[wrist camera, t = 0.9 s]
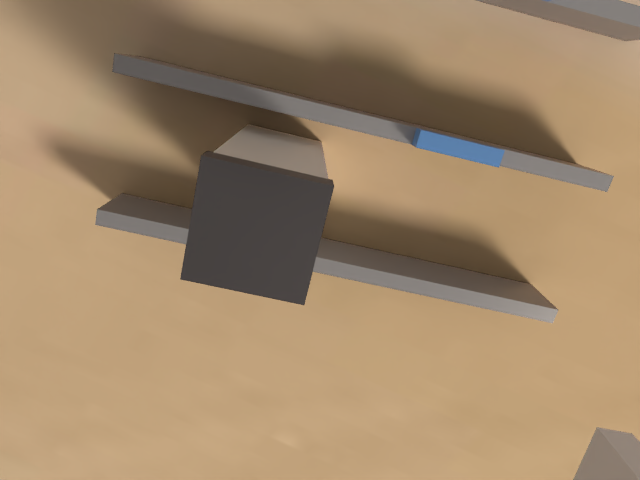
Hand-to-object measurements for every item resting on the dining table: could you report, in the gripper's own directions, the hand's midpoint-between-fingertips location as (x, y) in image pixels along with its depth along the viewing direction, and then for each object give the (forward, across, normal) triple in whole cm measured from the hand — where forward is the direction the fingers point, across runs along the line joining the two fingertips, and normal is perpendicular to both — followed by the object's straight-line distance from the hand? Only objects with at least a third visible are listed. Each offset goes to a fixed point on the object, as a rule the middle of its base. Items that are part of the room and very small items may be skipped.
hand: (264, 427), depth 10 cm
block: (+19, -1, +2) cm, 20 cm away
